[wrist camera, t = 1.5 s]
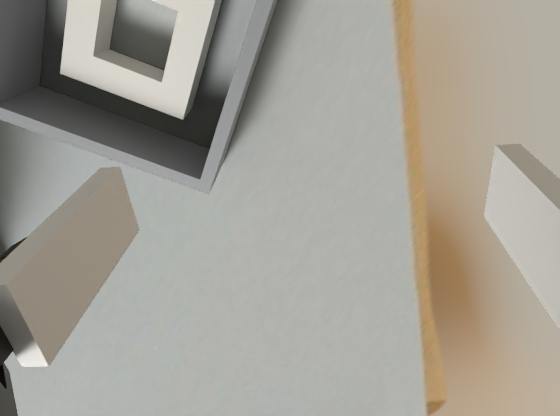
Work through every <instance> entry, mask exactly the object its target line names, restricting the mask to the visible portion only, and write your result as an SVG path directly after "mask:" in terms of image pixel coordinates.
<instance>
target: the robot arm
mask: <svg viewBox="0 0 560 416" xmlns="http://www.w3.org/2000/svg"><path fill="white" fill-rule="evenodd" d="M484 217H485V219H486V220H487V222H488V223H489V225H490V226H491V228H492V229H493V231H494V232H495V234H496V235H497V237H498V238H499V240H500V241H501V243H502V244H503V246H504V247H505V249H506V250H507V252H508V253H509V255H510V256H511V258H512V259H513V261H514V262H515V264H516V265H517V267H518V268H519V270H520V271H521V273H522V275H523V276H524V278H525V279H526V280H527V282H528V283H529V285H530V286H531V288H532V289H533V291H534V293H535V294H536V296H537V297H538V299H539V300H540V302H541V303H542V305H543V306H544V308H545V309H546V311H547V312H548V314H549V315H550V317H551V318H552V320H553V321H554V323H555V324H556V325H557V327H558V329H559V330H560V179H559V178H558V177H557V176H556V175H554V174H553V173H552V172H551V171H550V170H549V169H548V168H547V167H545V166H544V165H543V164H542V163H541V162H540V161H539V160H538V159H536V158H535V157H534V156H533V155H532V154H531V153H530V152H529V151H527V150H526V149H525V148H524V147H523V146H522V145H521V144H508V145H496V146H495V152H494V158H493V164H492V170H491V177H490V183H489V188H488V195H487V200H486V207H485V213H484ZM138 231H139V228H138V224H137V221H136V218H135V215H134V211H133V208H132V205H131V201H130V198H129V195H128V191H127V188H126V185H125V181H124V178H123V175H122V172H121V168H120V167H110V168H100V169H99V170H98V171H97V172H96V173H95V174H94V175H93V176H91V177H90V178H89V179H88V180H87V181H86V182H85V183H84V184H83V185H82V186H81V187H80V188H79V189H78V190H77V191H76V192H75V193H74V194H72V195H71V196H70V197H69V198H68V199H67V200H66V201H65V202H64V203H63V204H62V205H61V206H60V207H59V208H58V209H57V210H56V211H55V212H53V213H52V214H51V215H50V216H49V217H48V218H47V219H46V220H45V221H44V222H43V223H42V224H41V225H40V226H39V227H38V228H37V229H36V230H34V231H33V232H32V233H31V234H30V235H29V236H28V237H26V238H24V239H23V240H21V241H19V242H18V243H16V244H14V245H13V246H11V247H10V248H9V249H8V250H7V251H6V252H5V253H4V254H3V255H2V256H1V257H0V416H18V414H17V409H16V404H15V399H14V394H13V388H12V383H11V378H10V373H9V371H8V369H7V367H6V365H5V364H4V361H5V360H6V359H7V358H8V356H9V355H10V354H11V352H12V351H13V352H14V353H15V355H16V357H17V359H18V361H19V362H20V364H21V366H22V367H42V366H49V365H50V364H51V362H52V361H53V359H54V358H55V356H56V355H57V353H58V352H59V350H60V349H61V347H62V346H63V344H64V343H65V341H66V340H67V338H68V337H69V335H70V334H71V332H72V331H73V329H74V328H75V326H76V325H77V323H78V322H79V320H80V319H81V317H82V316H83V314H84V313H85V311H86V310H87V308H88V307H89V305H90V304H91V302H92V301H93V299H94V298H95V296H96V295H97V293H98V292H99V290H100V289H101V287H102V286H103V284H104V283H105V281H106V280H107V278H108V277H109V275H110V274H111V272H112V271H113V269H114V268H115V266H116V265H117V263H118V262H119V260H120V259H121V257H122V255H123V254H124V252H125V251H126V249H127V248H128V246H129V245H130V243H131V242H132V240H133V239H134V237H135V236H136V234H137V233H138Z"/></svg>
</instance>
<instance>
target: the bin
mask: <svg viewBox="0 0 560 416" xmlns="http://www.w3.org/2000/svg"><path fill="white" fill-rule="evenodd" d="M152 1H154V2H157V3H159V4H161V5H164V6H166V7H169V8H171V9H174V10H176V11H178V14H177V18H176V23H175V27H174V31H173V36H172V40H171V44H170V49H169V53H168V57H167V62H166V66H165V70H161V69H159V68H156V67H154V66H151V65H149V64H146V63H143V62H141V61H138V60H136V59H133V58H131V57H128V56H125V55H123V54H120V53H118V52H115V51H113V50H110V42H111V36H112V30H113V24H114V18H115V12H116V5H117V0H68V3H67V13H66V22H65V31H64V41H63V50H62V59H61V68H60V74H63V75H65V76H68V77H71V78H73V79H76V80H79V81H81V82H84V83H87V84H89V85H92V86H95V87H97V88H100V89H102V90H105V91H108V92H110V93H113V94H116V95H118V96H121V97H124V98H126V99H129V100H132V101H134V102H137V103H140V104H142V105H145V106H148V107H150V108H153V109H155V110H158V111H161V112H163V113H166V114H169V115H171V116H174V117H177V118H179V119H182V120H183V119H184V118H185V117H186V116H187V114H188V113H189V112H190V111H191V110H192V107H193V104H194V100H195V96H196V93H197V89H198V86H199V82H200V78H201V75H202V71H203V68H204V64H205V60H206V57H207V53H208V50H209V46H210V42H211V39H212V35H213V31H214V28H215V24H216V21H217V17H218V13H219V10H220V6H221V3H222V0H152ZM277 1H278V0H257V1H256V4H255V7H254V10H253V13H252V17H251V20H250V23H249V26H248V29H247V33H246V36H245V39H244V42H243V45H242V48H241V52H240V55H239V58H238V61H237V64H236V68H235V71H234V74H233V77H232V80H231V83H230V87H229V90H228V93H227V96H226V99H225V103H224V106H223V109H222V112H221V115H220V118H219V122H218V125H217V128H216V131H215V134H214V137H213V141H212V144H211V147H210V149H208V148H206V147H203V146H200V145H198V144H195V143H192V142H190V141H187V140H184V139H182V138H179V137H176V136H173V135H171V134H168V133H165V132H163V131H160V130H157V129H155V128H152V127H149V126H147V125H144V124H141V123H139V122H136V121H133V120H130V119H128V118H125V117H122V116H120V115H117V114H114V113H112V112H109V111H106V110H104V109H101V108H98V107H95V106H93V105H90V104H87V103H85V102H82V101H79V100H77V99H74V98H71V97H69V96H66V95H63V94H61V93H58V92H55V91H52V90H50V89H47V88H44V87H42V86H40V76H41V65H42V53H43V41H44V29H45V18H46V6H47V0H0V120H3V121H5V122H8V123H11V124H14V125H16V126H19V127H22V128H25V129H28V130H30V131H33V132H36V133H39V134H42V135H44V136H47V137H50V138H53V139H56V140H58V141H61V142H64V143H67V144H70V145H72V146H75V147H78V148H81V149H83V150H86V151H89V152H92V153H95V154H97V155H100V156H103V157H106V158H109V159H111V160H114V161H117V162H120V163H123V164H125V165H128V166H131V167H134V168H137V169H139V170H142V171H145V172H148V173H150V174H153V175H156V176H159V177H162V178H164V179H167V180H170V181H173V182H176V183H178V184H181V185H184V186H187V187H190V188H192V189H195V190H198V191H201V192H204V193H206V194H209V193H210V191H211V188H212V186H213V184H214V182H215V180H216V177H217V175H218V173H219V171H220V169H221V166H222V164H223V161H224V158H225V155H226V152H227V149H228V146H229V143H230V140H231V137H232V135H233V132H234V129H235V126H236V123H237V120H238V117H239V114H240V111H241V108H242V105H243V102H244V99H245V96H246V93H247V90H248V87H249V84H250V81H251V78H252V75H253V72H254V69H255V66H256V63H257V60H258V58H259V55H260V52H261V49H262V46H263V43H264V40H265V37H266V34H267V31H268V28H269V25H270V22H271V19H272V16H273V13H274V10H275V7H276V4H277Z"/></svg>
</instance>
